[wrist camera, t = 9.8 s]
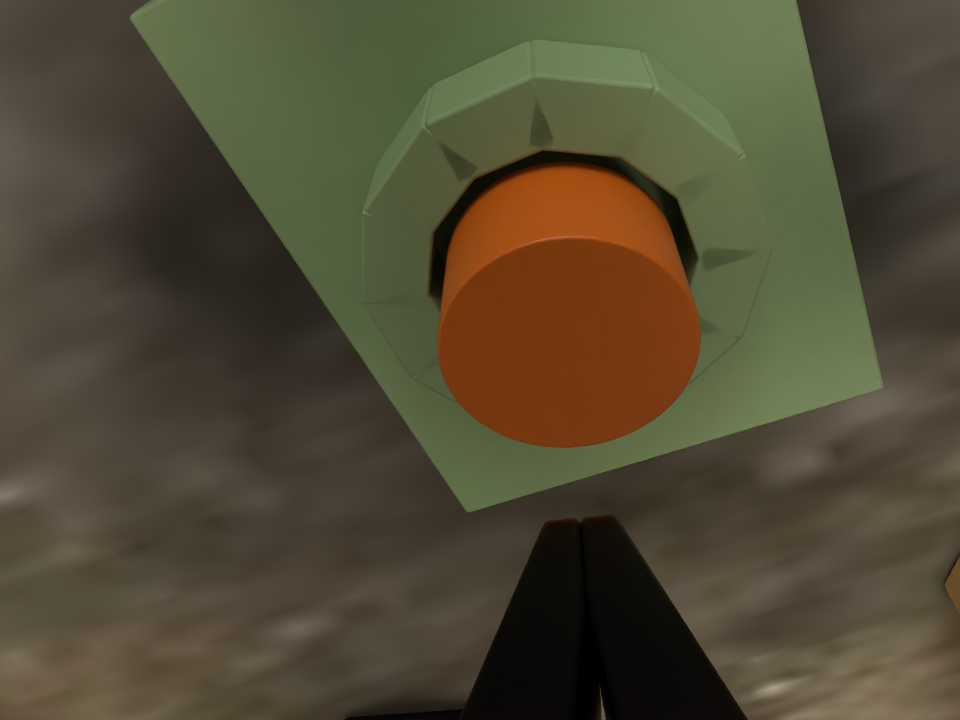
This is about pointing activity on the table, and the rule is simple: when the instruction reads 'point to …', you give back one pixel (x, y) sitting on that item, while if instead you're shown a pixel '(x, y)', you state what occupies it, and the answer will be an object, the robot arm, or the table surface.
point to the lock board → (954, 585)
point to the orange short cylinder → (565, 308)
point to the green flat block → (526, 142)
